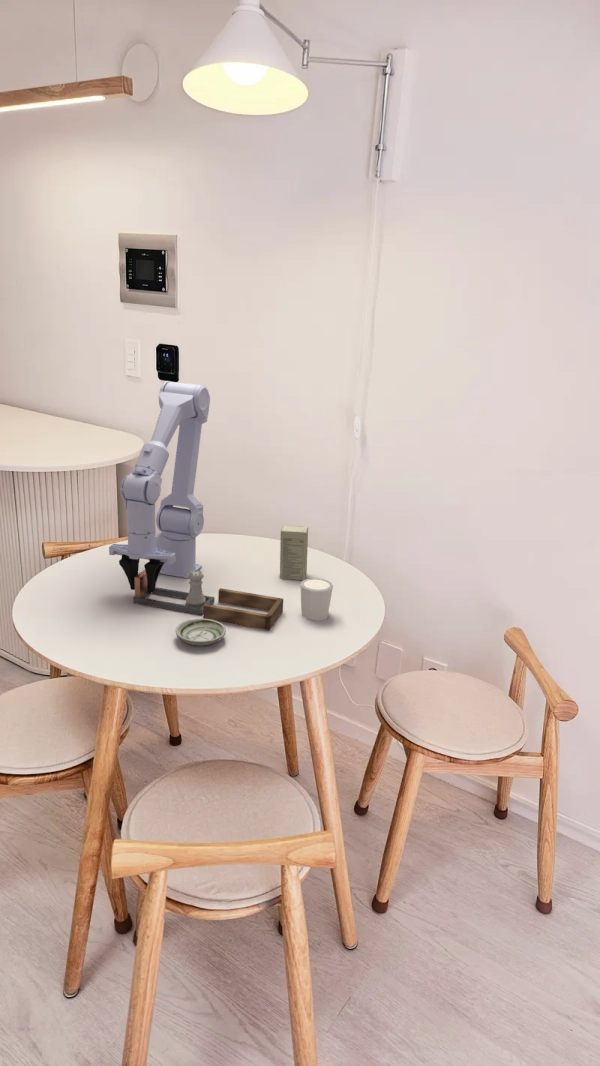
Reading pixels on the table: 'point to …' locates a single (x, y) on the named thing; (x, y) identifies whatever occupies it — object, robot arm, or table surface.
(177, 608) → the frame
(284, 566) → the skincare box
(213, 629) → the saucer
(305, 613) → the shot glass
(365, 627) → the table surface
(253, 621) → the walnut lane
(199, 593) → the rook chess piece
